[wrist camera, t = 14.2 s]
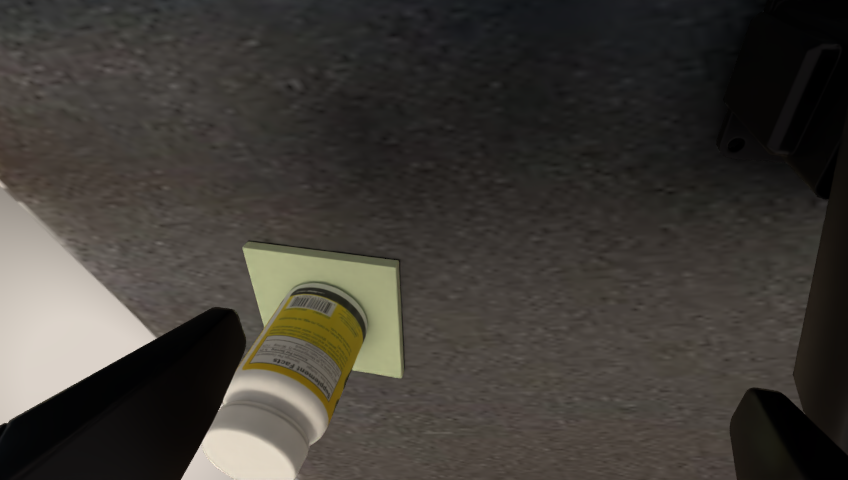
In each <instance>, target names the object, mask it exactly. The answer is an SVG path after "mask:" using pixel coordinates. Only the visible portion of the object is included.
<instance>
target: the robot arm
mask: <svg viewBox="0 0 848 480" xmlns="http://www.w3.org/2000/svg"><path fill="white" fill-rule="evenodd" d="M723 100H724V102H725V103H726V105H727V106H728V111H727V113H726V116H725V119H724V122H723V124H722V127H721V130H720V133H719V135H718V138H717V144H716V145H717V147H718V149H719V151H720V152H721V154H722V155H724V156H725V157H727V158H731V159H744V160H756V161H769V162H782V163H787V164H788V165H789V166H790V167H791V168H792V169H793V170H794V171H795V173H796V174H797V175H798V176H799V177H800V178H801V179H802V180H803V181H804V182H805V183H806V185H807V186H808V187H809V188H810V189H811V190H812V191H813V192H814V193H815V194H816V195H817V197H819V198H822V199H828V205H827V210H826V215H825V220H824V225H823V230H822V235H821V240H820V244H819V249H818V254H817V259H816V264H815V269H814V274H813V279H812V284H811V289H810V293H809V298H808V303H807V308H806V313H805V318H804V323H803V328H802V333H801V338H800V342H799V347H798V352H797V357H796V362H795V367H794V372H793V377H794V380H795V384H796V387H797V391H798V394H799V398H800V401H801V405H802V408H803V411H804V413H805V414H804V413H803V412H802V411H801V410H800V409H799V408H798V407H797V406H796V405H795V404H794V403H792V402H791V401H790V400H789V399H788V398H787V397H786V396H785V395H784V394H782V393H781V392H778V391H774V390H768V389H761V388H750V389H748V390H747V391H746V393H745V394H744V396H743V398H742V400H741V402H740V403H739V405H738V407H737V409H736V411H735V412H734V414H733V416H732V418H731V422H730V436H731V443H732V450H733V456H734V463H735V470H736V476H737V480H848V0H768V1H767V3H766V6H765V9H764V12H761V13H760V14H758V15H757V16H756V17H754V18H753V19H752V20H751V22H750V24H749V27H748V30H747V33H746V36H745V39H744V41H743V44H742V47H741V50H740V53H739V55H738V58H737V61H736V64H735V67H734V70H733V72H732V75H731V78H730V81H729V84H728V87H727V89H726V92H725V95H724V98H723ZM734 138H741V142H740V143H739V144H738V145H737V146H735V147H728V144H729V142H730V141H731V140H733V139H734ZM245 347H246V337H245V334H244V331H243V328H242V325H241V322H240V319H239V316H238V314H237V312H236V311H235V310H233V309H228V308H221V307H214V308H211V309H209V310H207V311H205V312H204V313H202V314H200V315H198V316H196V317H195V318H193V319H191V320H189V321H187V322H186V323H184V324H182V325H180V326H178V327H177V328H175V329H173V330H171V331H169V332H168V333H166V334H164V335H162V336H160V337H159V338H157V339H155V340H153V341H152V342H150V343H148V344H146V345H144V346H143V347H141V348H139V349H137V350H135V351H134V352H132V353H130V354H128V355H126V356H125V357H123V358H121V359H119V360H117V361H116V362H114V363H112V364H110V365H108V366H107V367H105V368H103V369H101V370H99V371H98V372H96V373H94V374H92V375H90V376H89V377H87V378H85V379H83V380H81V381H80V382H78V383H76V384H74V385H72V386H71V387H69V388H67V389H65V390H63V391H62V392H60V393H58V394H56V395H54V396H52V397H51V398H49V399H47V400H45V401H43V402H42V403H40V404H38V405H36V406H35V407H33V408H31V409H29V410H27V411H25V412H24V413H22V414H20V415H18V416H16V417H15V418H13V419H11V420H10V421H9V422H8V423H4V424H2V425H0V480H181V478H182V477H183V475H184V473H185V471H186V469H187V468H188V466H189V464H190V462H191V460H192V459H193V457H194V455H195V454H196V452H197V450H198V448H199V446H200V445H201V443H202V441H203V439H204V438H205V436H206V434H207V432H208V430H209V428H210V427H211V425H212V423H213V421H214V419H215V417H216V415H217V413H218V410H219V408H220V406H221V404H222V401H223V399H224V397H225V395H226V392H227V390H228V388H229V385H230V383H231V381H232V379H233V376H234V374H235V372H236V369H237V367H238V365H239V363H240V360H241V358H242V356H243V353H244V351H245Z"/></svg>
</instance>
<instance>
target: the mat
mask: <svg viewBox="0 0 848 480" xmlns="http://www.w3.org/2000/svg"><path fill="white" fill-rule="evenodd" d="M243 252H244V256H245V259H246V263H247V266H248V270H249V274H250V277H251V281H252V285H253V288H254V292H255V295H256V299H257V303H258V306H259V310H260V314H261V317H262V321H263V324H264V328H265V326H266V325H267V323H268V322H269V320H270V319H271V317H272V315H273V314H274V313H275V311H276V310H277V308H278V307H279V305H280V303H281V302H282V301H283V299H284V298H285V296H286V295H287V294H288V293H289V292H290V291H291V290H292V289H294V288H296V287H298V286H300V285H303V284H309V283H319V284H325V285H329V286H332V287H335V288H337V289H339V290H341V291H343V292H344V293H346V294H347V295H349V296H350V297H351V298H352V299H353V300H355V301H356V302H357V303H358V305H359V306H360V307H361V308H362V310H363V312H364V314H365V316H366V319H367V325H368V328H367V334H366V337H365V339H364V342H363V344H362V347H361V349H360V351H359V354H358V356H357V358H356V361H355V363H354V366H353V368H352V370H355V371H361V372H367V373H373V374H378V375H384V376H390V377H396V378H402V376H403V373H404V359H403V338H402V316H401V295H400V273H399V261H398V260H390V259H382V258H374V257H367V256H359V255H351V254H343V253H335V252H328V251H320V250H312V249H304V248H296V247H288V246H281V245H273V244H265V243H257V242H249V241H248V242H247V243H246V244H245V245H244V246H243Z"/></svg>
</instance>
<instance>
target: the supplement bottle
mask: <svg viewBox="0 0 848 480" xmlns="http://www.w3.org/2000/svg"><path fill="white" fill-rule="evenodd" d="M367 328H368V325H367V319H366V316H365V314H364V312H363V310H362V308H361V307H360V306H359V305H358V303H357V302H356V301H355V300H353V299H352V298H351V297H350V296H349V295H347V294H346V293H344V292H343V291H341V290H339V289H337V288H335V287H332V286H329V285H325V284H319V283H309V284H303V285H300V286H298V287H296V288H294V289H292V290H291V291H290V292H289V293H288V294H287V295H286V296H285V298H284V299H283V301H282V302H281V303H280V305H279V307H278V308H277V310H276V311H275V313H274V314H273V315H272V317H271V319H270V320H269V322H268V323H267V325H266V326H265V328H264V329H263V331H262V332H261V334H260V335H259V337H258V338H257V340H256V341H255V343H254V344H253V346H252V347H251V349H250V350H249V351H248V353H247V354H246V356H245V357H244V359H243V360H242V362H241V363H240V365H239V366H238V368H237V369H236V372H235V374H234V376H233V379H232V381H231V383H230V385H229V388H228V390H227V392H226V395H225V397H224V399H223V403H224V405H223V406H222V407H221V409H220V410H219V411H218V413H217V415H216V417H215V419H214V421H213V423H212V425H211V427H210V428H209V430H208V432H207V434H206V436H205V438H204V439H203V441H202V443H201V444H202V448H203V451H204V453H205V455H206V457H207V458H208V459H209V460H210V461H211V463H212V464H213V465H214V466H216V467H217V468H218V469H219V470H220V471H222V472H223V473H225V474H226V475H228V476H229V477H231V478H233V479H235V480H295V478H296V476H297V474H298V472H299V470H300V468H301V466H302V464H303V462H304V461H305V459H306V457H307V454H308V450H309V445H311V444H313V443H315V442H316V441H318V440H319V439H320V438H321V437H322V435H323V434H324V432H325V431H326V429H327V427H328V425H329V422H330V420H331V417H332V415H333V413H334V410H335V408H336V406H337V404H338V401H339V399H340V396H341V394H342V391H343V389H344V387H345V385H346V382H347V380H348V377H349V375H350V373H351V370H352V368H353V366H354V363H355V361H356V358H357V356H358V354H359V351H360V349H361V347H362V344H363V342H364V339H365V337H366V334H367Z"/></svg>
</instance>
